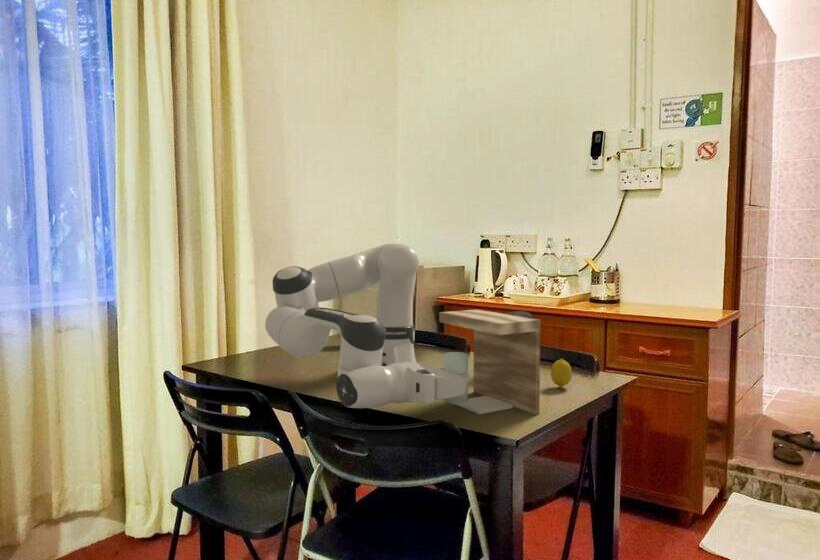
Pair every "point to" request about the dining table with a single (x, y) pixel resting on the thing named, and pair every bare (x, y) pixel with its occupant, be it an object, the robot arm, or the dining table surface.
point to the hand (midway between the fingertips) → (459, 374)
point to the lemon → (561, 373)
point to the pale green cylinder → (457, 372)
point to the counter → (502, 360)
